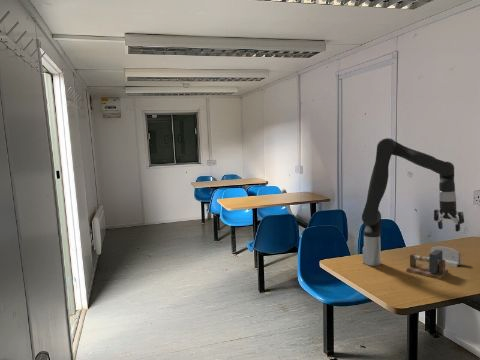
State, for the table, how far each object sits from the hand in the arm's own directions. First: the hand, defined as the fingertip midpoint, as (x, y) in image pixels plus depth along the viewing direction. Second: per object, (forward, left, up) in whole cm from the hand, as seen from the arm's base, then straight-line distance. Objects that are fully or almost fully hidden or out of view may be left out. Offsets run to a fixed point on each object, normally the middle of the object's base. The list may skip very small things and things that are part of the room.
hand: (449, 230), depth 181 cm
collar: (-5, -4, -22) cm, 23 cm away
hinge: (-8, +18, -25) cm, 32 cm away
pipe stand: (-10, -4, -24) cm, 26 cm away
